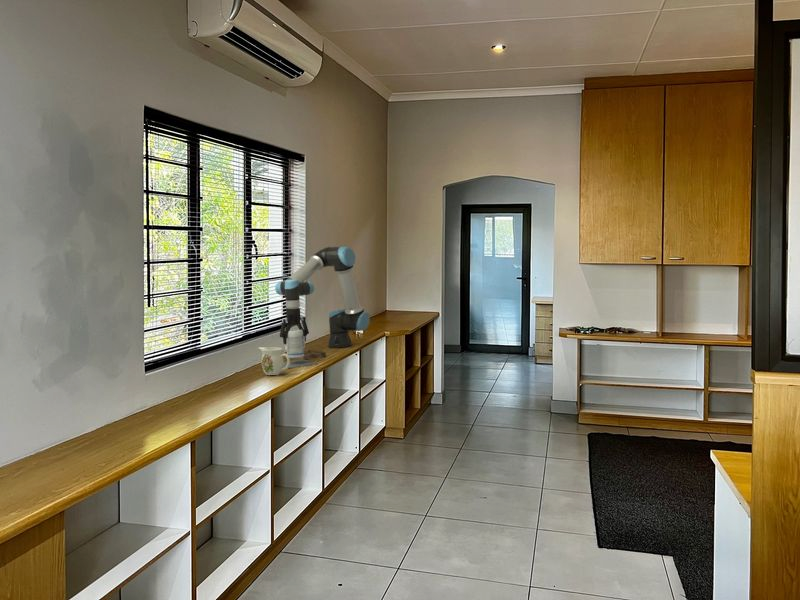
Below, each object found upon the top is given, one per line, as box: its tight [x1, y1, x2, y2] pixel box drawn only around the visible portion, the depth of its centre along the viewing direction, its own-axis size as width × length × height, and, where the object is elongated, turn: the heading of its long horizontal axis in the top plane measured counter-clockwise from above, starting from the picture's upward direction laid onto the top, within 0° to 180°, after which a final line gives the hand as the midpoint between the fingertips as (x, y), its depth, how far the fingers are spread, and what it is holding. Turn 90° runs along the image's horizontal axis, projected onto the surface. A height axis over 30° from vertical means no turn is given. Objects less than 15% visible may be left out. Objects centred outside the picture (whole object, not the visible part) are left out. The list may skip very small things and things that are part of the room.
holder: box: [302, 348, 327, 360], centre depth 400 cm, size 14×16×2 cm
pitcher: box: [257, 346, 291, 376], centre depth 349 cm, size 11×18×14 cm, turn 68°
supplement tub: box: [285, 328, 305, 359], centre depth 376 cm, size 10×10×15 cm
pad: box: [283, 358, 319, 369], centre depth 377 cm, size 18×18×1 cm
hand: (295, 348), depth 377 cm, fingers closed on supplement tub, 9 cm apart
